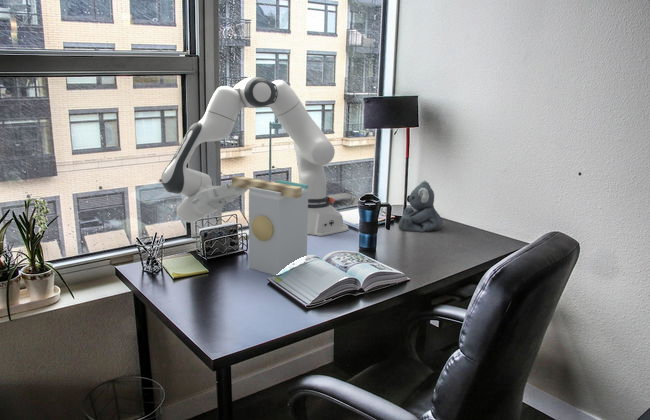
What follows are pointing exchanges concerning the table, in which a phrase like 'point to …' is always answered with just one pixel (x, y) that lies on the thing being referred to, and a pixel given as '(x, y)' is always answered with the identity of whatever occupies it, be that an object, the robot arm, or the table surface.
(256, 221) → the grey box with disc
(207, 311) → the table surface
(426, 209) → the koala plush
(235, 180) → the maple shaft
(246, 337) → the table surface
